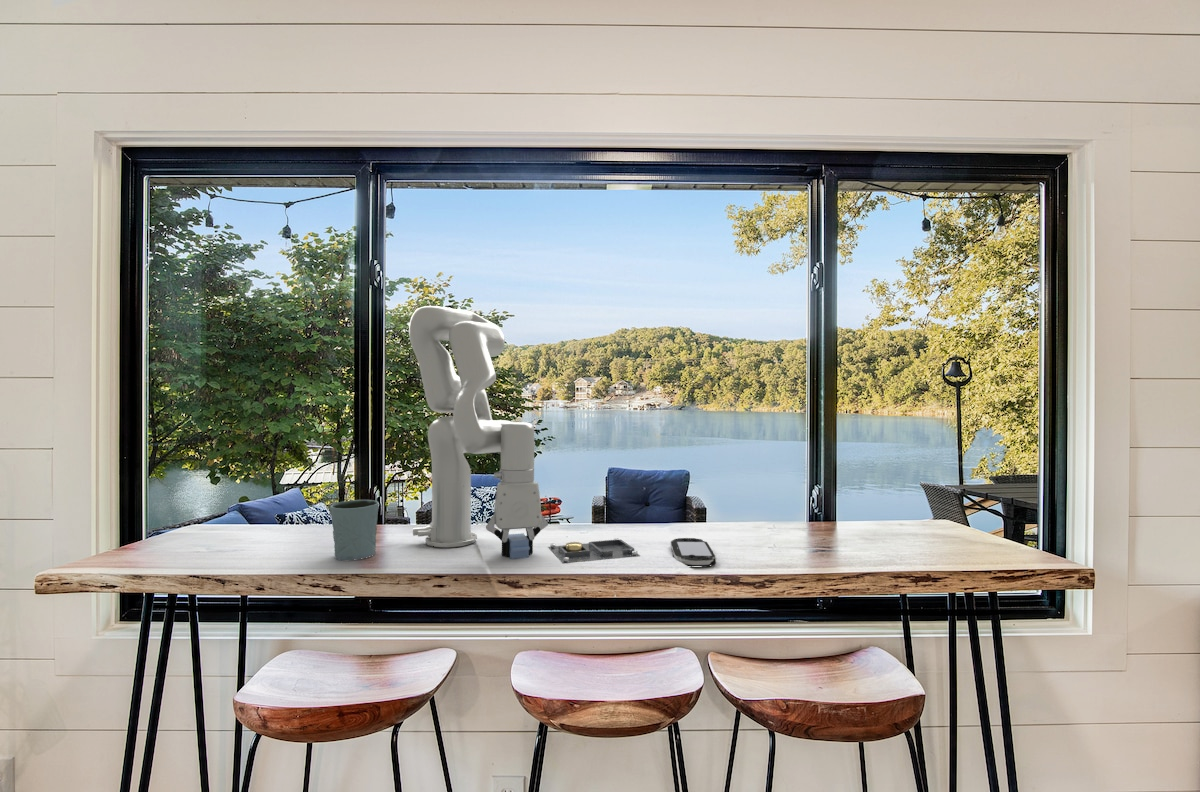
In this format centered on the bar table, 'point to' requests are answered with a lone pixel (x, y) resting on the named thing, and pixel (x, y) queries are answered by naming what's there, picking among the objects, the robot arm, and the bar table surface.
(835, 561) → the bar table surface
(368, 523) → the grey-green cup
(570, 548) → the bushing
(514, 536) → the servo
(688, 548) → the gaming console
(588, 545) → the plate
